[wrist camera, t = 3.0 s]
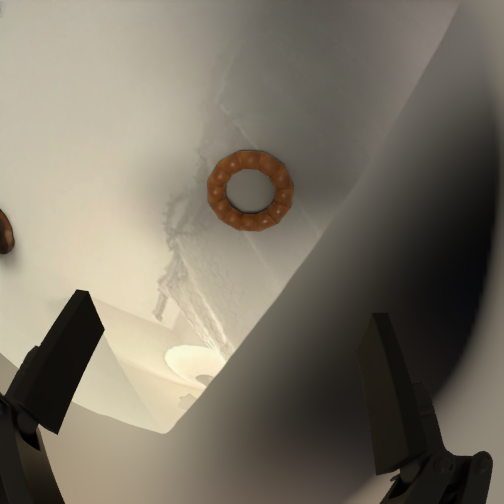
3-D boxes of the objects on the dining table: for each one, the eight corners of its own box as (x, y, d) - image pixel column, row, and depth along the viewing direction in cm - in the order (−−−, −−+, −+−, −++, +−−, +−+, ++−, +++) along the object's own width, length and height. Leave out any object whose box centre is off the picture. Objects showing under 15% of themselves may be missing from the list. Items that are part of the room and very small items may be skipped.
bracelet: (308, 179, 25) (311, 185, 23) (263, 239, 29) (262, 247, 27) (236, 133, 23) (233, 136, 22) (195, 201, 27) (191, 208, 25)
